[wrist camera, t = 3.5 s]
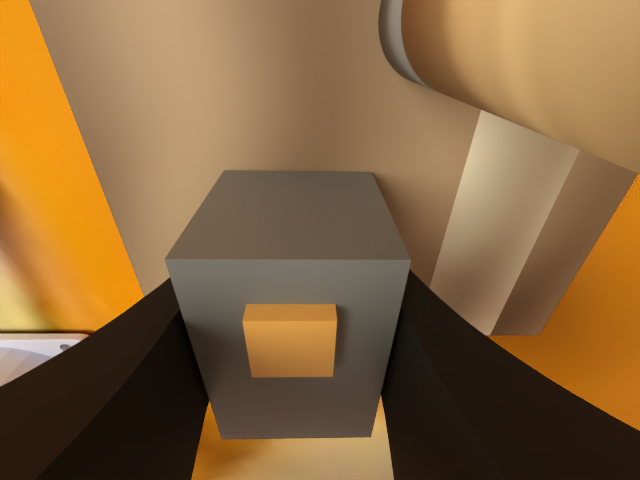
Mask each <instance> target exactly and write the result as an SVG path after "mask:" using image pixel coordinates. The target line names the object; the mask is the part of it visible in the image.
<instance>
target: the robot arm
mask: <svg viewBox="0 0 640 480" xmlns="http://www.w3.org/2000/svg"><path fill="white" fill-rule="evenodd" d="M381 397H382V402H383V407H384V412H385V419H386V426H387V432H388V439H389V446H390V453H391V460H392V467H393V475H394V480H640V431H639V430H637V429H635V428H633V427H631V426H629V425H627V424H625V423H624V422H622V421H620V420H618V419H616V418H615V417H613V416H611V415H609V414H608V413H606V412H604V411H602V410H601V409H599V408H597V407H595V406H594V405H592V404H590V403H589V402H587V401H585V400H583V399H582V398H580V397H578V396H576V395H575V394H573V393H571V392H570V391H568V390H566V389H565V388H563V387H561V386H560V385H558V384H557V383H555V382H553V381H552V380H550V379H548V378H547V377H545V376H544V375H542V374H541V373H539V372H538V371H536V370H535V369H533V368H531V367H530V366H528V365H527V364H525V363H524V362H522V361H521V360H519V359H518V358H516V357H515V356H513V355H512V354H510V353H509V352H508V351H506V350H505V349H503V348H502V347H500V346H499V345H498V344H496V343H495V342H493V341H492V340H491V339H490V338H488V337H487V336H486V335H484V334H483V333H482V332H480V331H479V330H478V329H476V328H475V327H474V326H472V325H471V324H470V323H469V322H467V321H466V320H465V319H464V318H462V317H461V316H460V315H459V314H458V313H456V312H455V311H454V310H453V309H452V308H451V307H449V306H448V305H447V304H446V303H445V302H444V301H443V300H441V299H440V298H439V297H438V296H437V295H436V294H435V293H434V292H433V291H432V290H431V289H430V288H429V287H427V286H426V285H425V284H424V283H423V282H422V281H421V280H420V279H419V278H418V277H417V276H416V275H415V274H414V273H413V272H412V271H411V270H410V269H409V273H408V277H407V281H406V286H405V290H404V294H403V299H402V303H401V307H400V312H399V316H398V321H397V325H396V329H395V334H394V338H393V342H392V347H391V351H390V355H389V360H388V364H387V369H386V373H385V377H384V382H383V386H382V390H381ZM208 403H209V397H208V394H207V391H206V388H205V385H204V382H203V379H202V375H201V372H200V369H199V366H198V363H197V360H196V357H195V354H194V350H193V347H192V344H191V341H190V338H189V335H188V332H187V329H186V325H185V322H184V319H183V316H182V313H181V310H180V307H179V304H178V300H177V297H176V294H175V291H174V288H173V285H172V282H171V278H170V277H169V278H168V279H167V280H166V281H164V282H163V283H162V284H161V285H160V286H158V287H157V288H156V289H154V290H153V291H152V292H150V293H149V294H148V295H146V296H145V297H144V298H142V299H141V300H140V301H138V302H137V303H136V304H134V305H133V306H132V307H130V308H129V309H128V310H127V311H125V312H124V313H122V314H121V315H119V316H118V317H117V318H115V319H114V320H112V321H111V322H109V323H108V324H106V325H105V326H103V327H102V328H100V329H99V330H97V331H95V332H94V333H92V334H91V335H86V334H0V480H191V478H192V473H193V468H194V463H195V458H196V454H197V449H198V445H199V440H200V436H201V431H202V427H203V422H204V418H205V413H206V410H207V406H208Z"/></svg>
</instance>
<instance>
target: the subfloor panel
mask: <svg viewBox="0 0 640 480" xmlns="http://www.w3.org/2000/svg"><path fill="white" fill-rule="evenodd" d="M29 1H30V4H31V7H32V9H33V12H34V14H35V17H36V19H37V22H38V25H39V27H40V30H41V32H42V35H43V37H44V40H45V43H46V45H47V48H48V50H49V53H50V55H51V58H52V61H53V63H54V66H55V68H56V71H57V73H58V76H59V79H60V81H61V84H62V86H63V89H64V91H65V94H66V97H67V99H68V102H69V104H70V107H71V110H72V112H73V115H74V117H75V120H76V122H77V125H78V128H79V130H80V133H81V135H82V138H83V140H84V143H85V146H86V148H87V151H88V153H89V156H90V158H91V161H92V164H93V166H94V169H95V171H96V174H97V176H98V179H99V182H100V184H101V187H102V189H103V192H104V194H105V197H106V200H107V202H108V205H109V207H110V210H111V212H112V215H113V218H114V220H115V223H116V225H117V228H118V230H119V233H120V236H121V238H122V241H123V243H124V246H125V248H126V251H127V254H128V256H129V259H130V261H131V264H132V266H133V269H134V272H135V274H136V277H137V279H138V282H139V284H140V287H141V290H142V292H143V295H144V297H145V296H146V295H148V294H149V293H150V292H152V291H153V290H154V289H156V288H157V287H158V286H160V285H161V284H162V283H163V282H164V281H166V280H167V279H168V278H169V277H170V275H169V272H168V269H167V266H166V263H165V260H164V259H165V257H166V256H167V254H168V253H169V251H170V250H171V248H172V247H173V246H174V244H175V243H176V241H177V240H178V238H179V237H180V235H181V234H182V232H183V231H184V229H185V228H186V226H187V225H188V223H189V222H190V220H191V219H192V217H193V216H194V214H195V213H196V211H197V210H198V208H199V207H200V205H201V204H202V202H203V201H204V199H205V198H206V196H207V195H208V193H209V192H210V190H211V189H212V187H213V186H214V184H215V183H216V181H217V180H218V178H219V177H220V175H221V174H222V172H223V171H224V170H248V171H332V172H372V174H373V176H374V178H375V181H376V183H377V185H378V187H379V189H380V192H381V194H382V196H383V198H384V200H385V203H386V205H387V207H388V209H389V212H390V214H391V216H392V218H393V220H394V223H395V225H396V227H397V229H398V231H399V234H400V236H401V238H402V240H403V242H404V245H405V247H406V249H407V251H408V254H409V256H410V258H411V264H410V268H409V269H410V270H411V271H412V272H413V273H414V274H415V275H416V276H417V277H418V278H419V279H420V280H421V281H422V282H423V283H424V284H425V285H426V286H427V287H429V288H430V289H431V290H432V291H433V292H434V293H435V294H436V295H437V296H438V297H439V298H440V299H441V300H443V301H444V302H445V303H446V304H447V305H448V306H449V307H451V308H452V309H453V310H454V311H455V312H456V313H458V314H459V315H460V316H461V317H462V318H464V319H465V320H466V321H467V322H469V323H470V324H471V325H472V326H474V327H475V328H476V329H478V330H479V331H480V332H482V333H483V334H484V335H539V334H540V332H541V331H542V329H543V328H544V326H545V324H546V323H547V321H548V319H549V318H550V316H551V315H552V313H553V311H554V310H555V308H556V306H557V305H558V303H559V302H560V300H561V298H562V297H563V295H564V293H565V292H566V290H567V289H568V287H569V285H570V284H571V282H572V280H573V279H574V277H575V276H576V274H577V272H578V271H579V269H580V267H581V266H582V264H583V263H584V261H585V259H586V258H587V256H588V254H589V253H590V251H591V250H592V248H593V246H594V245H595V243H596V241H597V240H598V238H599V237H600V235H601V233H602V232H603V230H604V229H605V227H606V225H607V224H608V222H609V220H610V219H611V217H612V216H613V214H614V212H615V211H616V209H617V207H618V206H619V204H620V203H621V201H622V199H623V198H624V196H625V194H626V193H627V191H628V190H629V188H630V186H631V185H632V183H633V181H634V180H635V178H636V177H637V175H638V173H636V172H633V171H631V170H628V169H626V168H624V167H621V166H619V165H616V164H614V163H611V162H609V161H606V160H604V159H601V158H599V157H596V156H594V155H592V154H589V153H587V152H584V151H582V150H579V149H577V148H574V147H572V146H569V145H567V144H564V143H562V142H560V141H557V140H555V139H552V138H550V137H547V136H545V135H542V134H540V133H537V132H535V131H532V130H530V129H528V128H525V127H523V126H520V125H518V124H515V123H513V122H510V121H508V120H505V119H503V118H500V117H498V116H496V115H493V114H491V113H488V112H486V111H483V110H481V109H478V108H476V107H473V106H471V105H468V104H466V103H464V102H461V101H459V100H456V99H454V98H451V97H449V96H446V95H444V94H441V93H439V92H436V91H434V90H432V89H429V88H427V87H424V86H422V85H419V84H417V83H414V82H412V81H410V80H407V79H405V78H404V77H402V76H401V75H399V74H398V73H397V72H396V71H395V70H394V69H393V68H392V66H391V65H390V64H389V62H388V61H387V59H386V57H385V55H384V53H383V50H382V47H381V43H380V38H379V30H378V18H379V9H380V4H381V0H29Z"/></svg>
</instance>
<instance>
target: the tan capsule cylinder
mask: <svg viewBox="0 0 640 480" xmlns="http://www.w3.org/2000/svg"><path fill="white" fill-rule="evenodd" d="M378 30H379V38H380V43H381V47H382V50H383V53H384V55H385V57H386V59H387V61H388V62H389V64H390V65H391V66H392V68H393V69H394V70H395V71H396V72H397V73H398V74H399V75H401V76H402V77H404V78H405V79H407V80H410V81H412V82H414V83H417V84H419V85H422V86H424V87H427V88H429V89H432V90H434V91H436V92H439V93H441V94H444V95H446V96H449V97H451V98H454V99H456V100H459V101H461V102H464V103H466V104H468V105H471V106H473V107H476V108H478V109H481V110H483V111H486V112H488V113H491V114H493V115H496V116H498V117H500V118H503V119H505V120H508V121H510V122H513V123H515V124H518V125H520V126H523V127H525V128H528V129H530V130H532V131H535V132H537V133H540V134H542V135H545V136H547V137H550V138H552V139H555V140H557V141H560V142H562V143H564V144H567V145H569V146H572V147H574V148H577V149H579V150H582V151H584V152H587V153H589V154H592V155H594V156H596V157H599V158H601V159H604V160H606V161H609V162H611V163H614V164H616V165H619V166H621V167H624V168H626V169H628V170H631V171H633V172H636V173H638V174H640V0H381V4H380V9H379V18H378Z"/></svg>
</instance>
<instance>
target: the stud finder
mask: <svg viewBox="0 0 640 480" xmlns="http://www.w3.org/2000/svg"><path fill="white" fill-rule="evenodd" d="M164 260H165V263H166V266H167V269H168V272H169V275H170V278H171V282H172V285H173V288H174V291H175V294H176V297H177V300H178V304H179V307H180V310H181V313H182V316H183V319H184V322H185V325H186V329H187V332H188V335H189V338H190V341H191V344H192V347H193V350H194V354H195V357H196V360H197V363H198V366H199V369H200V372H201V375H202V379H203V382H204V385H205V388H206V391H207V394H208V397H209V400H210V404H211V407H212V410H213V413H214V416H215V419H216V422H217V425H218V429H219V432H220V435H221V438H222V439H283V438H351V437H371V434H372V430H373V425H374V421H375V417H376V412H377V408H378V403H379V399H380V395H381V390H382V386H383V382H384V377H385V373H386V369H387V364H388V360H389V355H390V351H391V347H392V342H393V338H394V334H395V329H396V325H397V321H398V316H399V312H400V307H401V303H402V299H403V294H404V290H405V286H406V281H407V277H408V273H409V268H410V264H411V258H410V256H409V254H408V251H407V249H406V247H405V245H404V242H403V240H402V238H401V236H400V234H399V231H398V229H397V227H396V225H395V223H394V220H393V218H392V216H391V214H390V212H389V209H388V207H387V205H386V203H385V200H384V198H383V196H382V194H381V192H380V189H379V187H378V185H377V183H376V181H375V178H374V176H373V174H372V172H332V171H248V170H224V171H223V172H222V174H221V175H220V177H219V178H218V180H217V181H216V183H215V184H214V186H213V187H212V189H211V190H210V192H209V193H208V195H207V196H206V198H205V199H204V201H203V202H202V204H201V205H200V207H199V208H198V210H197V211H196V213H195V214H194V216H193V217H192V219H191V220H190V222H189V223H188V225H187V226H186V228H185V229H184V231H183V232H182V234H181V235H180V237H179V238H178V240H177V241H176V243H175V244H174V246H173V247H172V248H171V250H170V251H169V253H168V254H167V256H166V257H165V259H164Z"/></svg>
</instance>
